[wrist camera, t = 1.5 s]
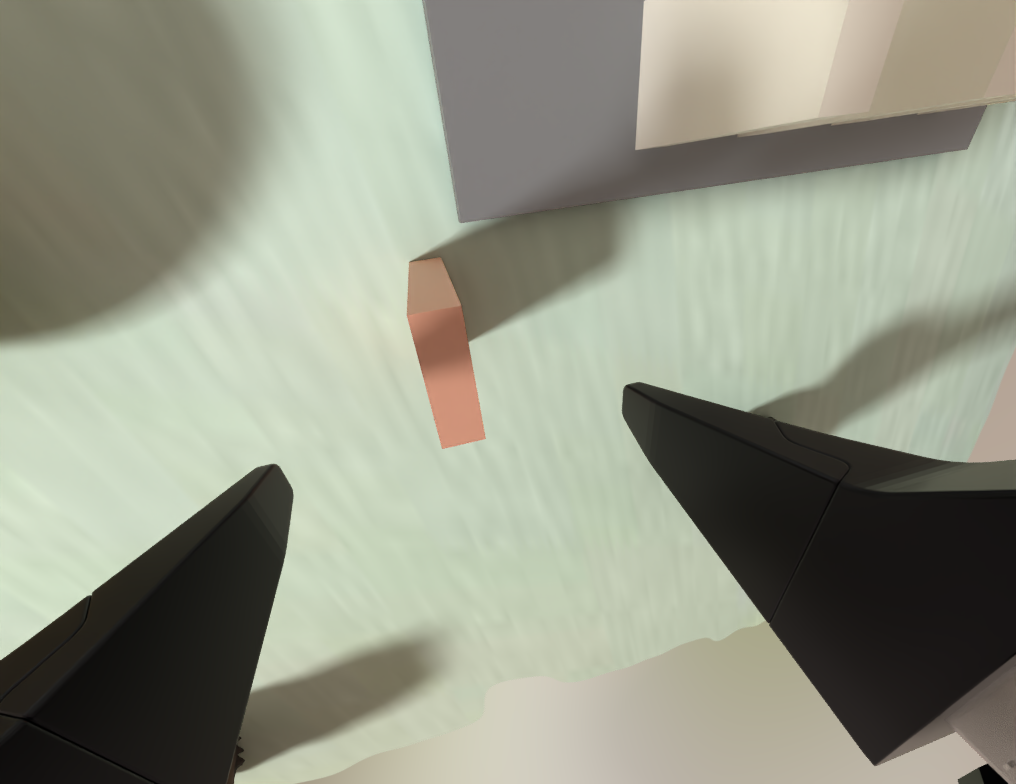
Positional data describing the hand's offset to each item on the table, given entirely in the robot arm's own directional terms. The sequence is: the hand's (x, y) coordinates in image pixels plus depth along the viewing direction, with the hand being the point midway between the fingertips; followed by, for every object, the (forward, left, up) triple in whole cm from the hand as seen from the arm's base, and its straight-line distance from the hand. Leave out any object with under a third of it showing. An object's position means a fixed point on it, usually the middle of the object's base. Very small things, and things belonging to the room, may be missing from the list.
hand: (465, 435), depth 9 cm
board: (+9, -17, -12) cm, 22 cm away
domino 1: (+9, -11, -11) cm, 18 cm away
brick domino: (0, 0, -12) cm, 12 cm away
